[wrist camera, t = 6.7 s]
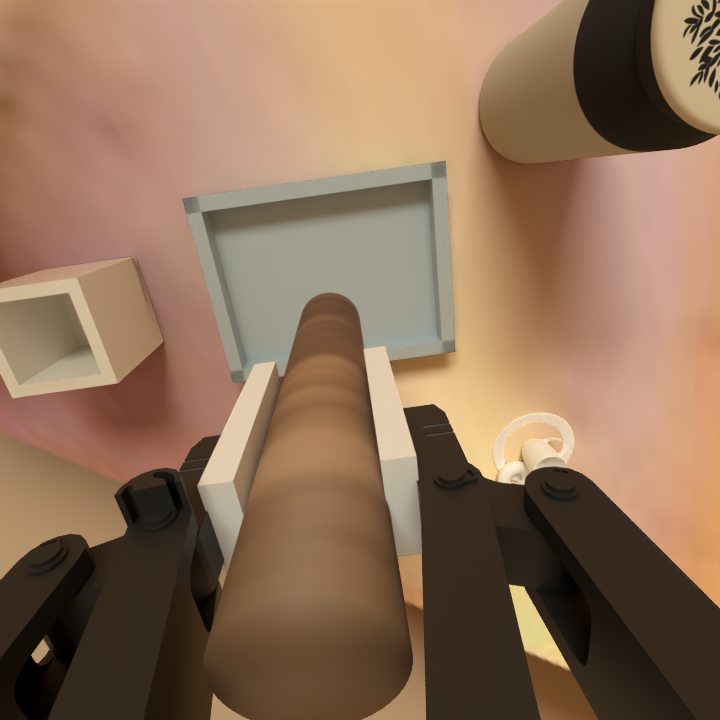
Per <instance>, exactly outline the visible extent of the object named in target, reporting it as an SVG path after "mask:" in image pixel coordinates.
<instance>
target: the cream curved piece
mask: <svg viewBox="0 0 720 720" xmlns="http://www.w3.org/2000/svg"><path fill="white" fill-rule="evenodd" d="M534 422H544V423H548V424H551V425H553V426H554V427H556V428H557V429H558V430H559V431H560V433H561V435H562V438H563V440H562V439H559V438H546V439H537V438H532V439H529V440H527V441H526V442H525V443H524V444H523V446H522V449H521V453H522V457H523V460H524V462H521V461H512V462H509V463H506V462H505V460H504V456H503V449H504V445H505V442H506V440H507V439H508V437H509V436H510V435H511V434H512V433H513V432H514V431H515V430H516V429H518V428H519V427H521V426H523V425H526V424H529V423H534ZM550 441H559V442H562V443H563V448H562V451H561V452H556V451H555V450H554V449H553V448H552V447H551V446H550V445H549V444H548V443H547V442H550ZM574 443H575V440H574V434H573V431H572V429H571V427H570V425H569V424H568V423H567V422H566V421H565V420H564V419H562V418H561V417H559V416H557V415H554V414H551V413H543V412H539V413H531V414H527V415H524V416H521V417H519V418H517V419H515V420H514V421H512V422H511V423H509V424H508V425H507V426H506V427H505V428H504V429H503V430H502V431H501V432H500V434H499V435H498V437H497V439H496V441H495V443H494V446H493V461H494V464H495V466H496V468H497V470H498V471H499V473H498V477H497V482H502V483H510V484H512V483H511V482H510V480H513V481H517V483H515V484H522V485H524V483H525V478H526V476H527V475H528V474H529V473H530V472H531V471H533V470H536V469H539V468H541V467H552V466H557V467H563V468H567V461H568V460H569V458H570V457H571V455H572V452H573V449H574Z"/></svg>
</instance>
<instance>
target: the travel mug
mask: <svg viewBox="0 0 720 720" xmlns="http://www.w3.org/2000/svg"><path fill="white" fill-rule="evenodd" d="M479 114H480V121H481V125H482V129H483V132H484V134H485V136H486V138H487V140H488V142H489V143H490V145H491V146H492V147H493V148H494V149H495V150H496V151H497V152H498V153H499V154H500V155H502V156H503V157H505V158H506V159H508V160H511V161H513V162H517V163H523V164H532V163H543V162H553V161H563V160H572V159H582V158H592V157H602V156H612V155H622V154H632V153H642V152H652V151H662V150H672V149H681V148H686V147H690V146H694V145H697V144H700V143H702V142H705V141H707V140H709V139H711V138H713V137H715V136H717V135H720V0H563V1H562V2H561V3H560V4H558V5H557V6H556V7H555V8H553V9H552V10H551V11H550V12H548V13H547V14H546V15H545V16H543V17H542V18H541V19H540V20H539V21H537V22H536V23H535V24H534V25H532V26H531V27H530V28H529V29H527V30H526V31H525V32H524V33H522V34H521V35H520V36H519V37H517V38H516V39H515V40H514V41H512V42H511V43H510V44H509V45H508V46H506V47H505V48H504V49H503V50H502V51H501V52H500V54H499V55H498V56H497V57H496V58H495V60H494V61H493V63H492V64H491V66H490V68H489V70H488V72H487V74H486V76H485V79H484V81H483V85H482V88H481V93H480V101H479Z"/></svg>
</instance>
